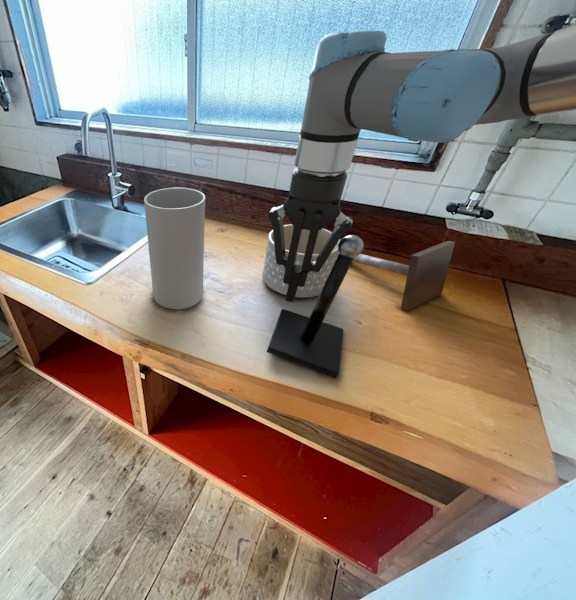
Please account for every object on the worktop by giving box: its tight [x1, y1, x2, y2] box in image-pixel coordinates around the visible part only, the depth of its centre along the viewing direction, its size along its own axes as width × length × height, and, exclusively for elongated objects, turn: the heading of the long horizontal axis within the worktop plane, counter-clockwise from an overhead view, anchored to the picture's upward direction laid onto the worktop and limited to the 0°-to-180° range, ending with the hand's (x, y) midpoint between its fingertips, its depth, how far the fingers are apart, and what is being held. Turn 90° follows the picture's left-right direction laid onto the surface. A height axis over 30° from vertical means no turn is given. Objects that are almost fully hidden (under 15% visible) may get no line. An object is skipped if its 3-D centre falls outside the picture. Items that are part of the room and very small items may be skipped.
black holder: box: [266, 234, 365, 379], centre depth 59 cm, size 25×13×13 cm
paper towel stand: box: [352, 240, 456, 312], centre depth 80 cm, size 25×13×13 cm, turn 27°
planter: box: [262, 223, 341, 298], centre depth 80 cm, size 16×16×13 cm
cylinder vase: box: [143, 187, 206, 310], centre depth 73 cm, size 12×12×25 cm
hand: (290, 297), depth 61 cm, fingers closed
